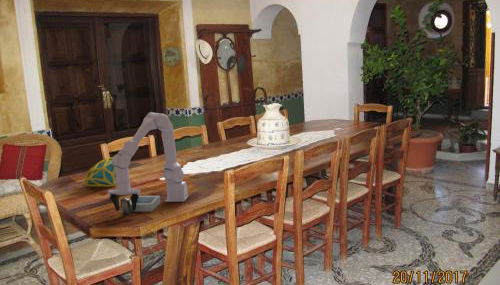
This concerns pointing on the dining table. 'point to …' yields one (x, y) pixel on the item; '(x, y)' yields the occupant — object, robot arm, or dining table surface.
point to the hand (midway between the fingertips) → (126, 210)
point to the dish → (146, 203)
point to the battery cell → (125, 206)
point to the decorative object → (101, 174)
